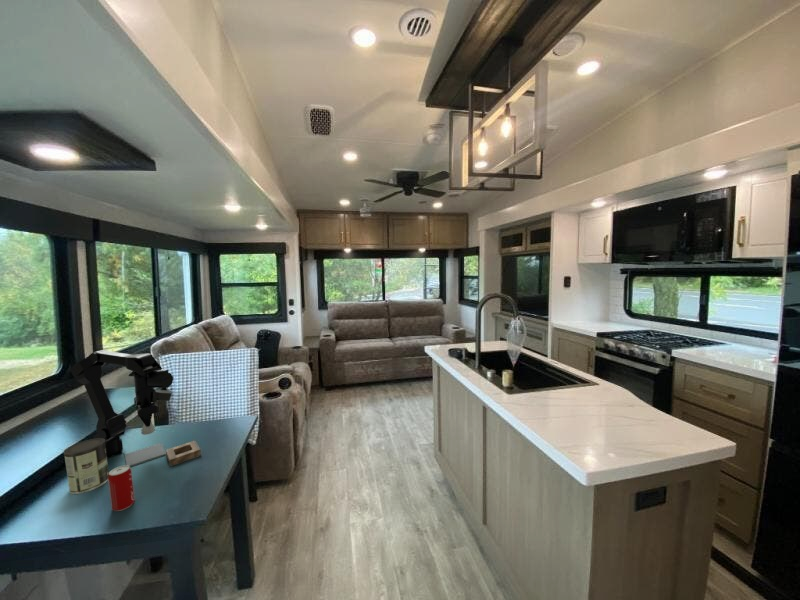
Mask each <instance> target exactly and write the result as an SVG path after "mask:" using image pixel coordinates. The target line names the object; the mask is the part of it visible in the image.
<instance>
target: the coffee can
mask: <svg viewBox="0 0 800 600" xmlns="http://www.w3.org/2000/svg"><path fill="white" fill-rule="evenodd" d="M62 453H63V455H64V461H65V462H64V463H65V469H66V476H67V482H68V489H69V490H68V492H69V493H70V494H71V495H81V494H84V493H88V492H90V491H93V490H96V489H98V488H100V487H101V486H104V485H105V484H106V483H107V482H108V476H109V472H110V471H109V465H108V458H107V456H106V448H105V439H103V438H95V439H93V438H90V439H86V440H82V441H79V442H77V443H74V444H72V445H70V446H68V447H67V448H65V449H64V450H63V452H62Z"/></svg>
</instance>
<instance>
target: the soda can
mask: <svg viewBox="0 0 800 600" xmlns="http://www.w3.org/2000/svg"><path fill="white" fill-rule="evenodd" d="M107 482H108V488H109V497H110V505H111V511H114V512H121V511H124V510H127V509H128V508H130V507H131V506H132V505H133V504H134V503H135V501H136V498H135V491H134V482H133V473H132V468H131V467H130V466H129V465H126V464H124V465H120V466H117V467H115V468H113V469H112V470H110V471H109V476H108V481H107Z"/></svg>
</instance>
